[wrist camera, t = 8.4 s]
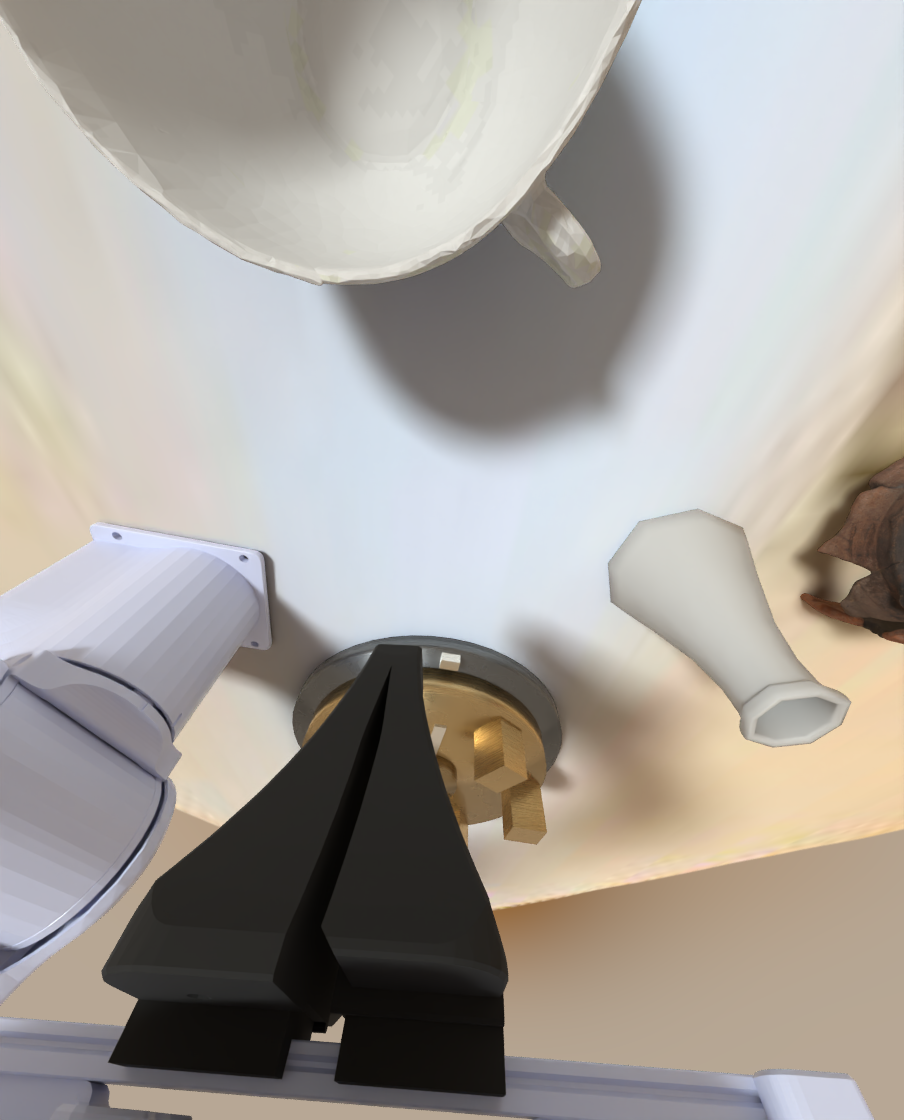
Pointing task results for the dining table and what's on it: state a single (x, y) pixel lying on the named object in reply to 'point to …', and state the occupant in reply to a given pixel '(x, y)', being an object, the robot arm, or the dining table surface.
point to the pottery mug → (873, 558)
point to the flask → (722, 623)
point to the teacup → (336, 120)
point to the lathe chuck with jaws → (478, 751)
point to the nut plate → (438, 656)
